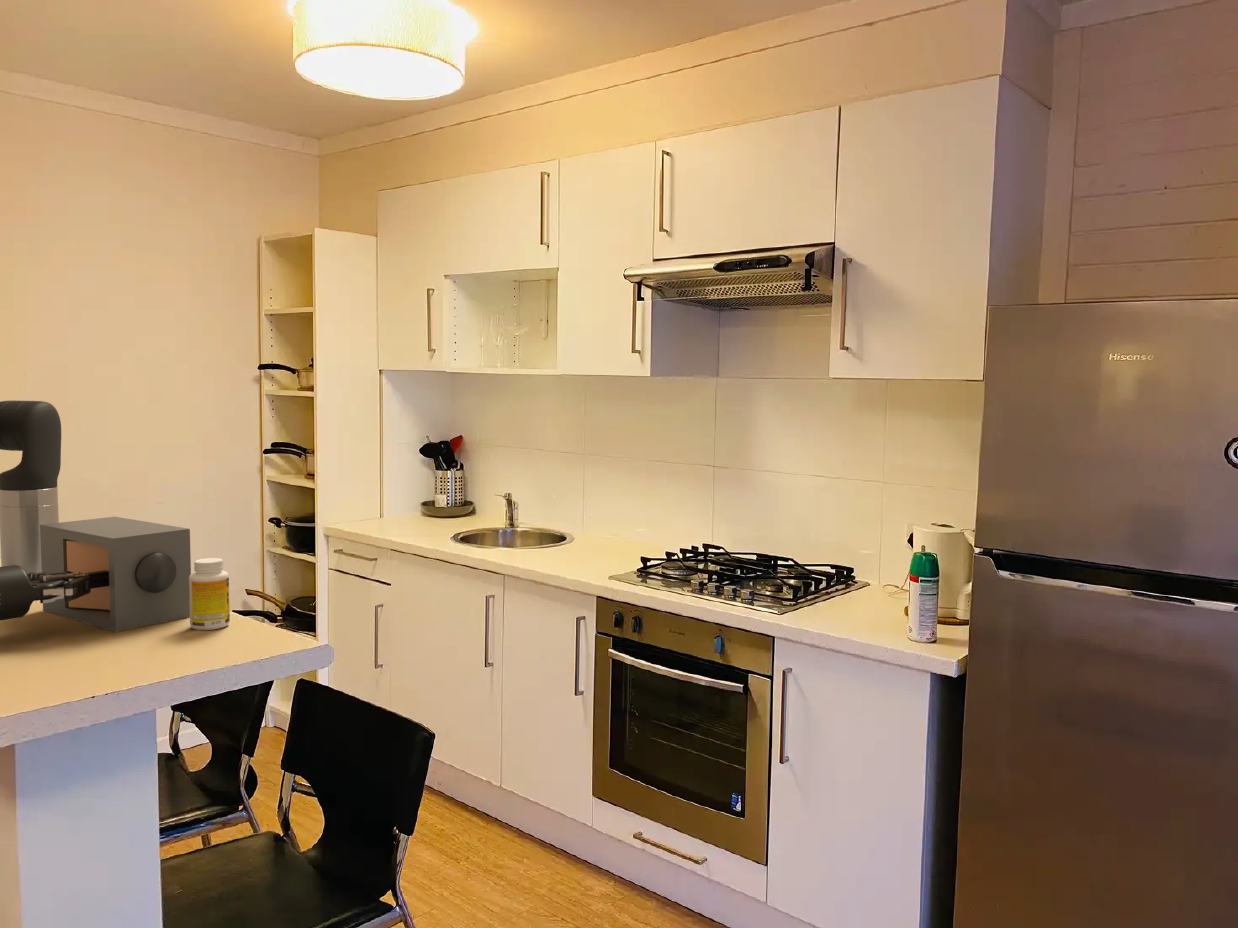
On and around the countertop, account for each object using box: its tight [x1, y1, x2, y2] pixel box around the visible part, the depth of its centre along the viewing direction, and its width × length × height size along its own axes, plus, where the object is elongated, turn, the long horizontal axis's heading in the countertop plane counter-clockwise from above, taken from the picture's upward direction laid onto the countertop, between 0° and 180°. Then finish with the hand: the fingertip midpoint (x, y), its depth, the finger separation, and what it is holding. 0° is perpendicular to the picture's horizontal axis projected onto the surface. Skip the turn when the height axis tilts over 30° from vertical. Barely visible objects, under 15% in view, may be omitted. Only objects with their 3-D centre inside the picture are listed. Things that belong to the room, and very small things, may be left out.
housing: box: [40, 516, 192, 633], centre depth 147 cm, size 23×12×14 cm, turn 57°
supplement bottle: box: [189, 557, 231, 631], centre depth 141 cm, size 6×6×10 cm
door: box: [66, 540, 110, 610], centre depth 143 cm, size 12×2×10 cm, turn 79°
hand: (110, 577), depth 142 cm, fingers closed
